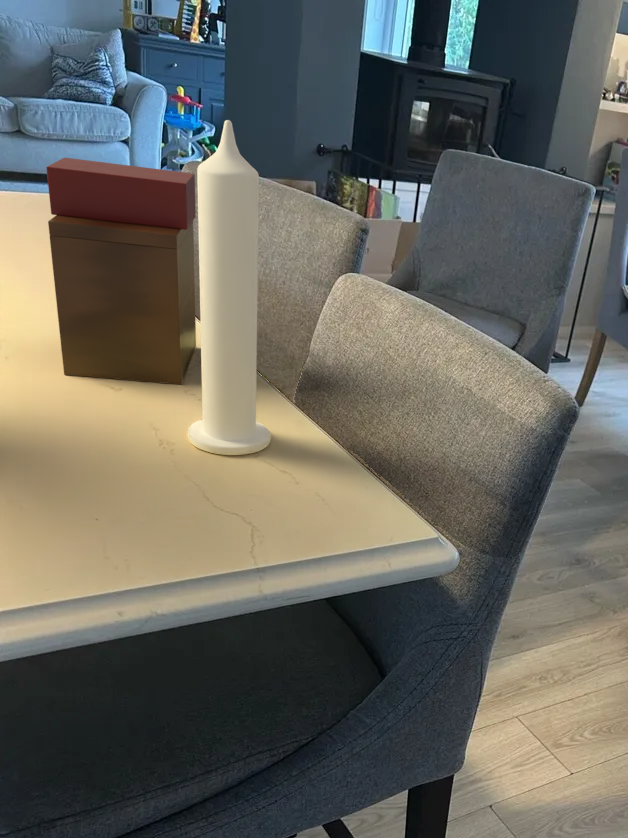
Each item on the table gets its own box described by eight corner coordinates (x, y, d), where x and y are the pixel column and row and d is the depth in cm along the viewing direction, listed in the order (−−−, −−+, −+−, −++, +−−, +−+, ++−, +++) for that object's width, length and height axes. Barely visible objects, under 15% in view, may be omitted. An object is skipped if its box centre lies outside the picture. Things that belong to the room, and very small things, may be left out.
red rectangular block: (187, 230, 82) (186, 183, 80) (50, 214, 80) (46, 166, 78) (195, 217, 87) (194, 173, 85) (68, 202, 85) (63, 157, 83)
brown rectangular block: (63, 374, 85) (47, 221, 78) (91, 337, 95) (79, 198, 88) (181, 384, 87) (176, 235, 80) (196, 347, 97) (193, 211, 90)
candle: (222, 417, 82) (220, 112, 68) (286, 438, 79) (296, 127, 66) (170, 439, 76) (156, 112, 63) (237, 463, 74) (237, 128, 60)
